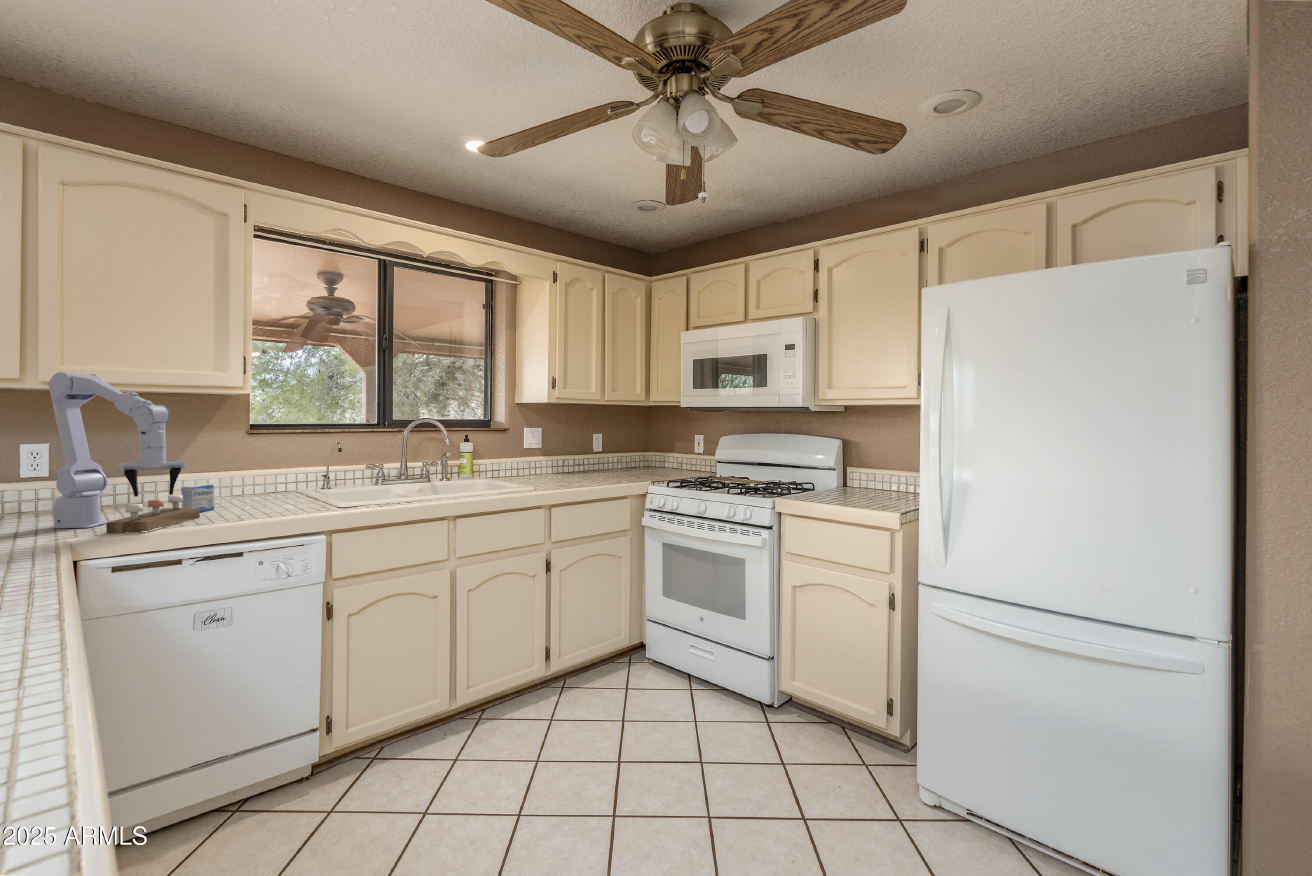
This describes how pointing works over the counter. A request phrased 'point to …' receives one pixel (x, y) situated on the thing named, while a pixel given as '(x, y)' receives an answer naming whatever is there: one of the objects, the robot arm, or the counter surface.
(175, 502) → the knob
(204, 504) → the medicine box
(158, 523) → the rack
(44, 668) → the counter surface
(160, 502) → the knob middle
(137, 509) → the knob
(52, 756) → the counter surface
